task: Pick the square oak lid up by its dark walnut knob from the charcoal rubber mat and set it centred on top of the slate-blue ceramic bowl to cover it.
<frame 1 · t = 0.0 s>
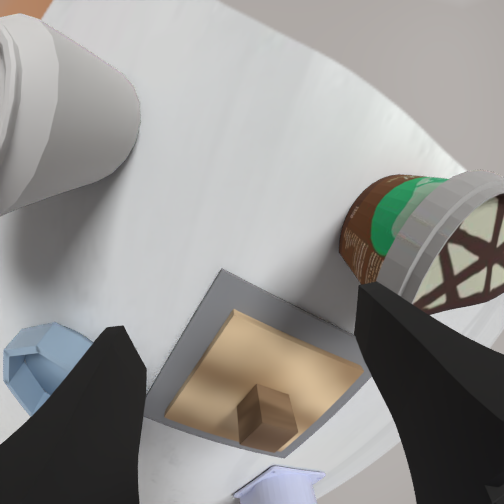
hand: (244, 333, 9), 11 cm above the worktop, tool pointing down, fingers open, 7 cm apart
lid: (261, 394, 23), resting on mat
mat: (261, 390, 23), on the worktop
bowl: (70, 368, 21), on the worktop
can: (90, 124, 16), on the worktop
food container: (397, 201, 19), on the worktop
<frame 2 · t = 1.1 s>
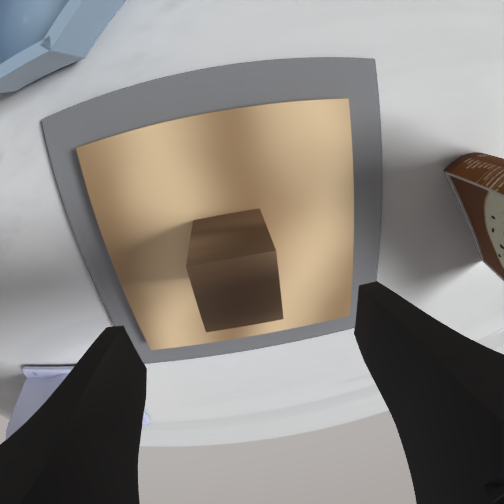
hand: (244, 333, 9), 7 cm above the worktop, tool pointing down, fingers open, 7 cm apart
lid: (230, 236, 15), resting on mat
mat: (230, 233, 15), on the worktop
food container: (489, 192, 16), on the worktop
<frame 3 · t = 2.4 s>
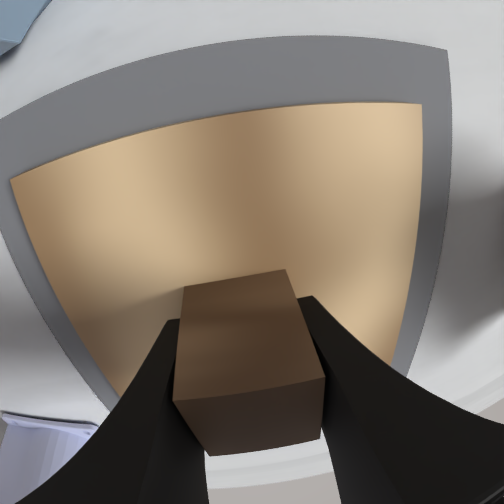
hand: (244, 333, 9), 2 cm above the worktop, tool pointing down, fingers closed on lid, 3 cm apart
lid: (240, 301, 10), resting on mat, touching gripper
mat: (239, 294, 11), on the worktop
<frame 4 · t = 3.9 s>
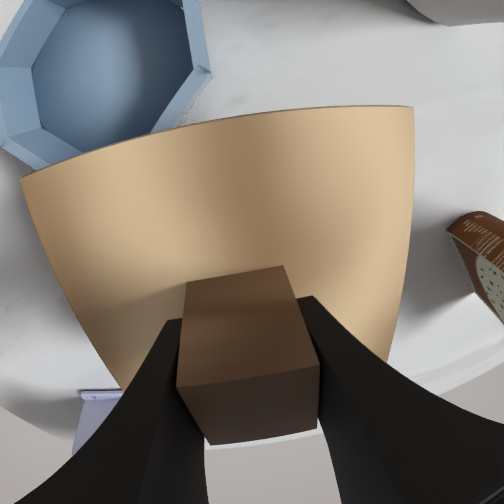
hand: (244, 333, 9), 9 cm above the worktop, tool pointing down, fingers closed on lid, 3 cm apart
lid: (240, 297, 11), point 7 cm above the worktop, touching gripper
bowl: (110, 67, 12), on the worktop
food container: (483, 239, 20), on the worktop
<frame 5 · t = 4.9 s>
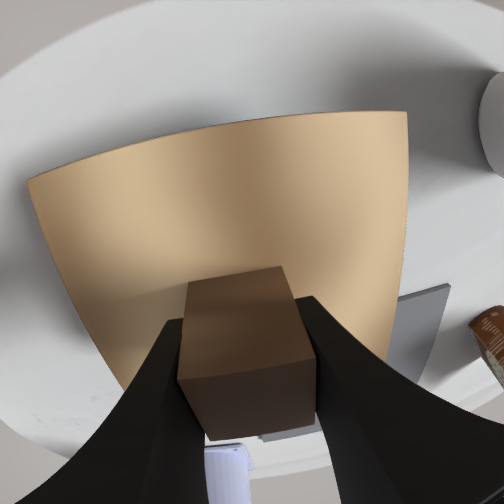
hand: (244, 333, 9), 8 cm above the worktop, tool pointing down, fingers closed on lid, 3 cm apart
lid: (240, 297, 11), point 5 cm above the worktop, touching gripper
mat: (347, 379, 23), on the worktop
can: (500, 122, 14), on the worktop
food container: (494, 322, 24), on the worktop
when the fingers open (7 cm above the worktop, at t = 5.4 s): lid stays where it is, resting on bowl.
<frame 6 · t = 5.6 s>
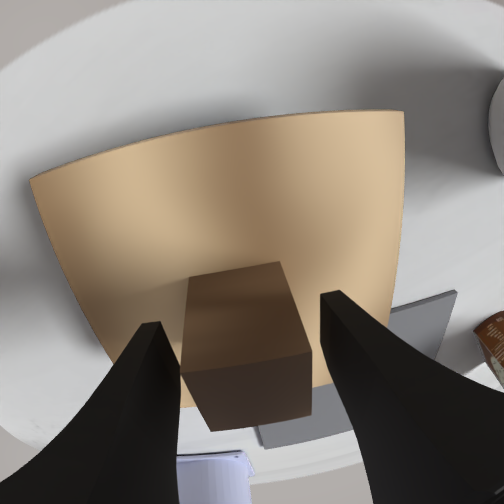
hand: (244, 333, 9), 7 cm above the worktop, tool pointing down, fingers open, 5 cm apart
lid: (239, 291, 11), point 4 cm above the worktop, touching bowl
mat: (350, 387, 22), on the worktop
food container: (498, 327, 23), on the worktop
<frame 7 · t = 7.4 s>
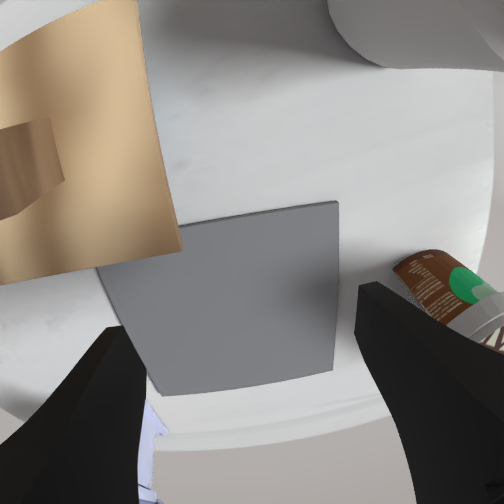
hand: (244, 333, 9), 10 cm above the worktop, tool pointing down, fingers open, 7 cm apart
lid: (40, 154, 11), point 4 cm above the worktop, touching bowl
mat: (230, 321, 22), on the worktop
can: (377, 15, 13), on the worktop
food container: (437, 274, 23), on the worktop
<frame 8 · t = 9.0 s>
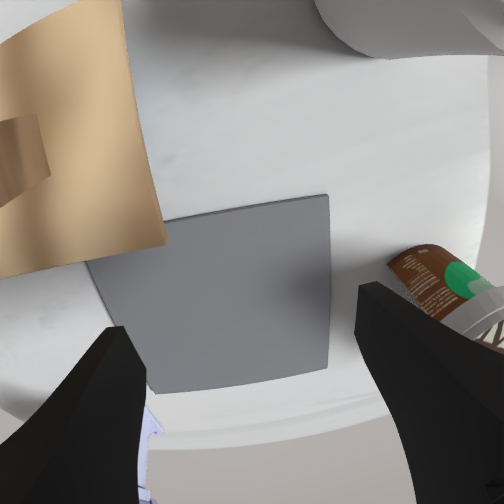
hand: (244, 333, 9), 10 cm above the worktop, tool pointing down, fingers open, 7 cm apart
lid: (28, 150, 11), point 4 cm above the worktop, touching bowl
mat: (221, 317, 22), on the worktop
can: (366, 6, 13), on the worktop
food container: (434, 269, 23), on the worktop
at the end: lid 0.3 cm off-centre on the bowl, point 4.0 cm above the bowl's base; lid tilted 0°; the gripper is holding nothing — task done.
